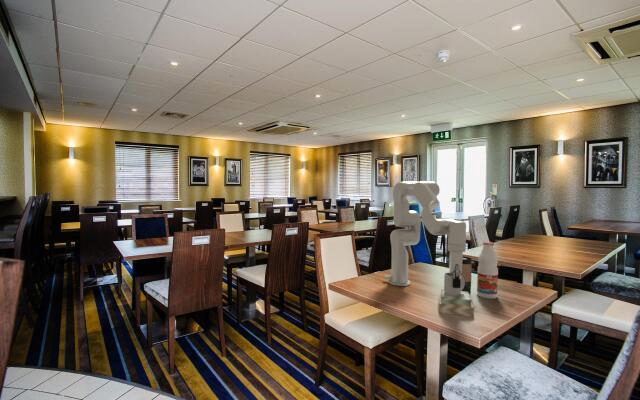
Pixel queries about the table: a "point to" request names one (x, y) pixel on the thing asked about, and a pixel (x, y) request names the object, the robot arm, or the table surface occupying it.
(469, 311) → the camouflage patterned box
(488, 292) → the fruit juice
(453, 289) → the cup
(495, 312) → the table surface
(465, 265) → the travel mug
